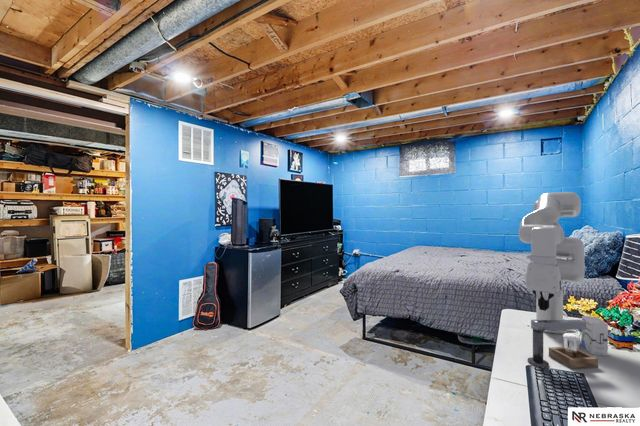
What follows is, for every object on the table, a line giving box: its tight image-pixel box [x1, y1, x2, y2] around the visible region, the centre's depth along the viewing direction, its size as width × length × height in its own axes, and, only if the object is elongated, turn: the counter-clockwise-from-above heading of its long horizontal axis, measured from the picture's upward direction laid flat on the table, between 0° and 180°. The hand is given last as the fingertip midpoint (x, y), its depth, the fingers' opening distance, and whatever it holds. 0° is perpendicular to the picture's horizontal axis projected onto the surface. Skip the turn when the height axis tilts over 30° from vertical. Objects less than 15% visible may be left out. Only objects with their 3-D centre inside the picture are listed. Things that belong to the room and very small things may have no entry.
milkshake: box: [562, 331, 582, 358], centre depth 106 cm, size 4×5×10 cm
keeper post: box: [527, 329, 550, 369], centre depth 105 cm, size 6×6×12 cm
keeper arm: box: [530, 319, 586, 332], centre depth 105 cm, size 18×4×2 cm, turn 91°
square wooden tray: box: [548, 346, 599, 370], centre depth 106 cm, size 9×9×3 cm
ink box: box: [580, 315, 609, 357], centre depth 115 cm, size 9×5×12 cm, turn 160°
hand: (543, 309), depth 112 cm, fingers closed
